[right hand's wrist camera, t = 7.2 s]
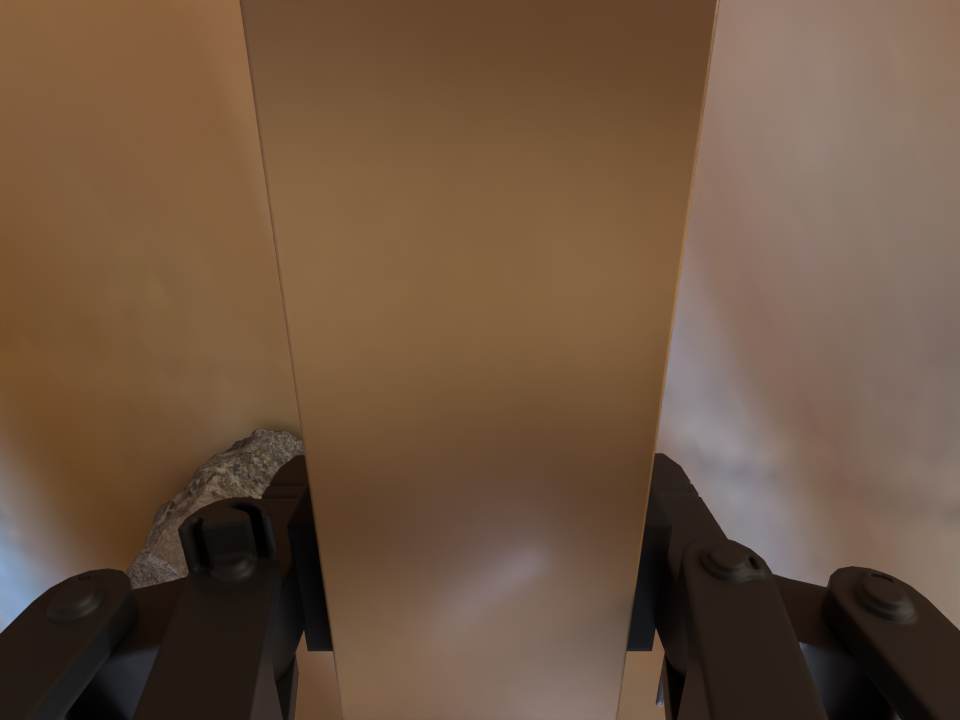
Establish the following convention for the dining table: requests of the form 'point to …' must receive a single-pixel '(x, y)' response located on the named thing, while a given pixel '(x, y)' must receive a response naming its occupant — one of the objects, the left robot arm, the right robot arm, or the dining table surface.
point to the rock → (210, 499)
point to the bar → (479, 327)
